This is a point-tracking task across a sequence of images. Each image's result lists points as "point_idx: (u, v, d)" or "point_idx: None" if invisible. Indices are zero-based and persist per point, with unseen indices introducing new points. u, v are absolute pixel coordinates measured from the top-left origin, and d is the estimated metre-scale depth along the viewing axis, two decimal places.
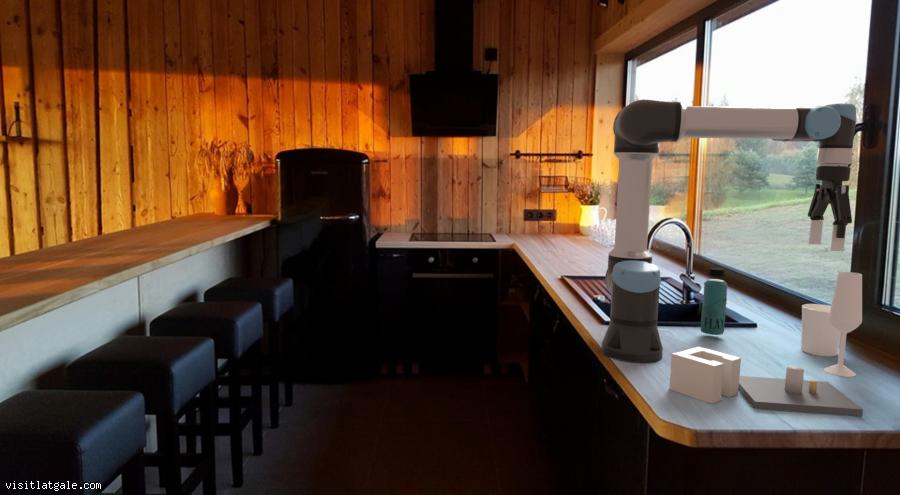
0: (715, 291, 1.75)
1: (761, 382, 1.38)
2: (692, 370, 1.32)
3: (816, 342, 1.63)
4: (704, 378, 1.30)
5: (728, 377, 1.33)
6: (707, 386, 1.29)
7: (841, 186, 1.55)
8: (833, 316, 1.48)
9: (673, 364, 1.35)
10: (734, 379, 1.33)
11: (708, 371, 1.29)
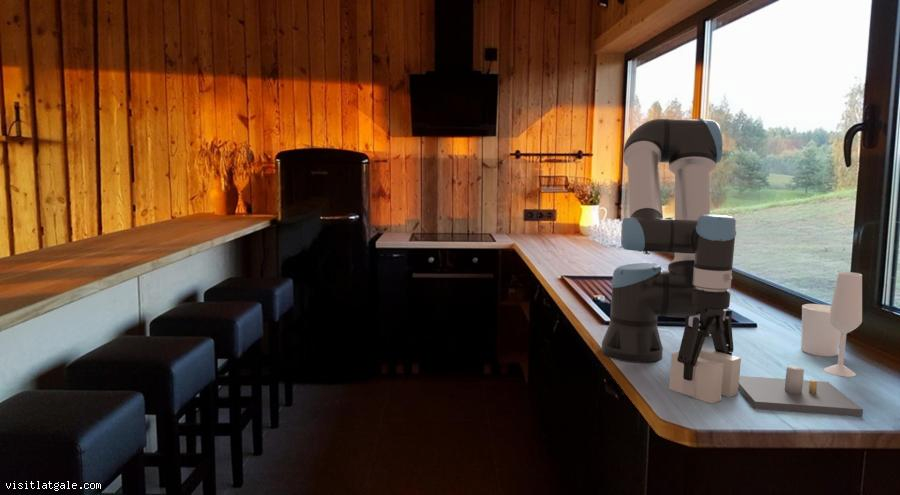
0: None
1: (761, 382, 1.38)
2: None
3: (816, 342, 1.63)
4: (704, 378, 1.30)
5: (728, 377, 1.33)
6: (707, 386, 1.29)
7: (688, 318, 1.30)
8: (833, 316, 1.48)
9: (673, 364, 1.36)
10: (734, 379, 1.33)
11: (708, 371, 1.29)
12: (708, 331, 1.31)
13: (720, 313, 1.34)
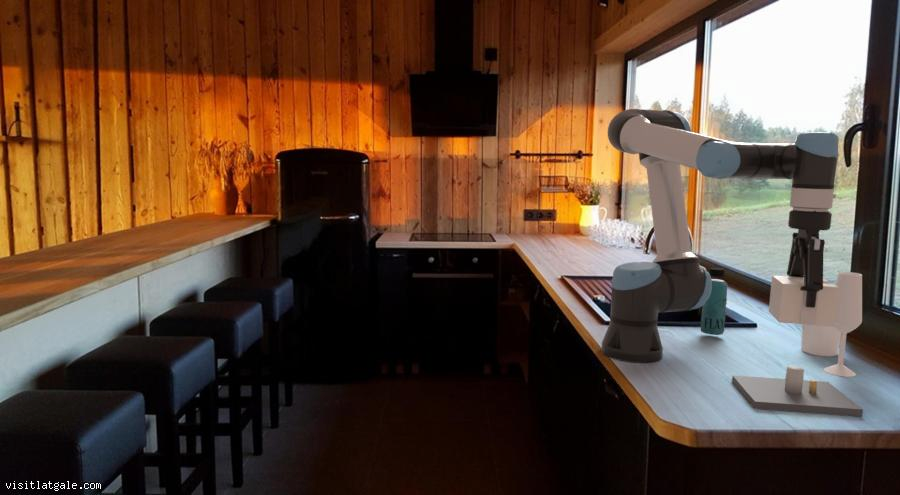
0: (715, 291, 1.75)
1: (761, 382, 1.38)
2: None
3: (816, 342, 1.63)
4: (825, 302, 1.24)
5: None
6: (829, 310, 1.24)
7: (814, 241, 1.22)
8: None
9: (784, 294, 1.26)
10: None
11: (831, 294, 1.24)
12: None
13: None
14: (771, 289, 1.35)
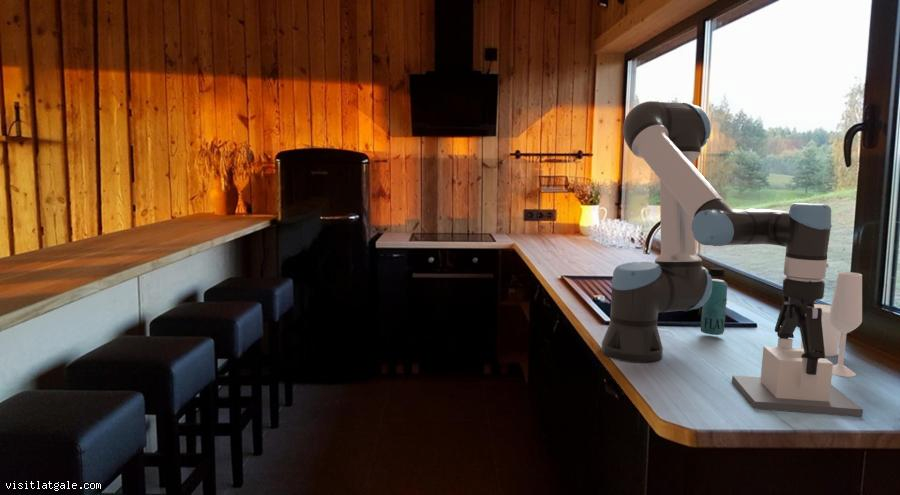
0: (715, 291, 1.75)
1: None
2: None
3: None
4: (820, 378, 1.27)
5: None
6: (824, 385, 1.27)
7: (812, 310, 1.24)
8: (833, 316, 1.48)
9: (781, 371, 1.28)
10: None
11: (825, 370, 1.26)
12: None
13: None
14: (763, 360, 1.37)
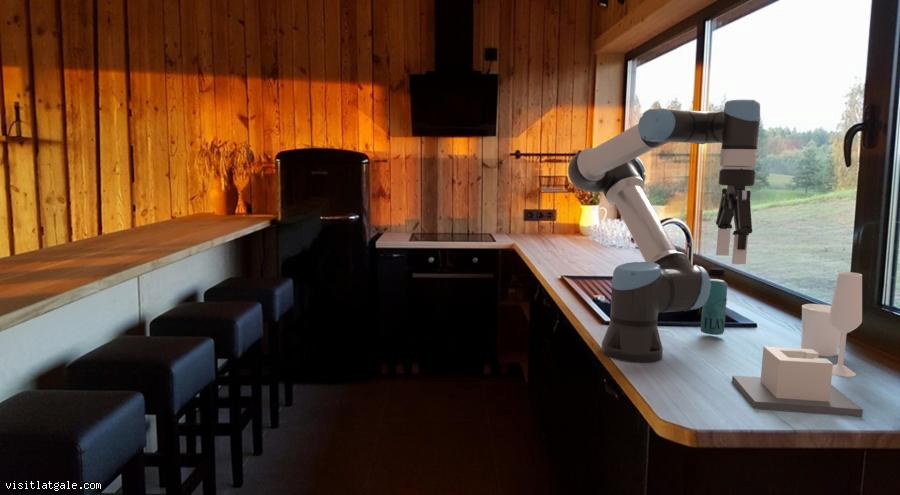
0: (715, 291, 1.75)
1: None
2: (806, 372, 1.27)
3: (816, 342, 1.63)
4: (820, 378, 1.27)
5: None
6: (824, 385, 1.27)
7: (742, 192, 1.39)
8: (833, 316, 1.48)
9: (781, 371, 1.28)
10: None
11: (825, 370, 1.26)
12: None
13: None
14: (763, 360, 1.37)
